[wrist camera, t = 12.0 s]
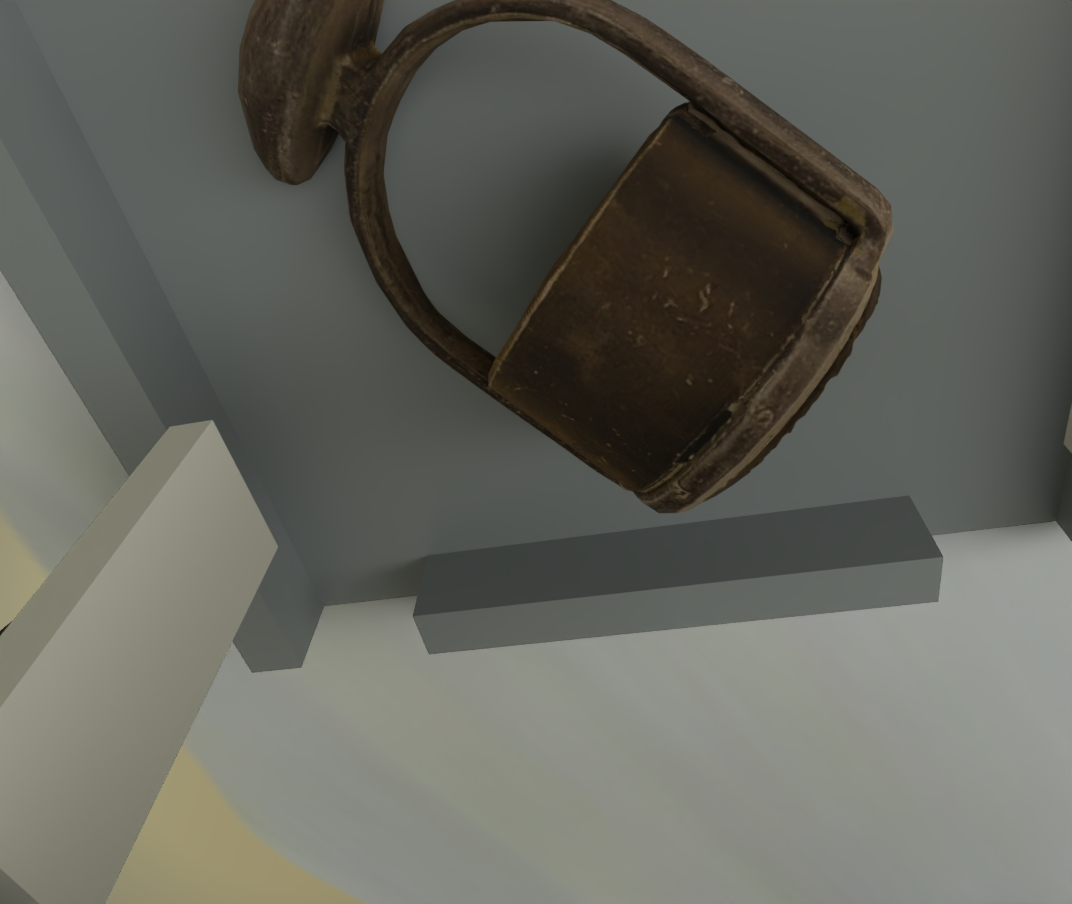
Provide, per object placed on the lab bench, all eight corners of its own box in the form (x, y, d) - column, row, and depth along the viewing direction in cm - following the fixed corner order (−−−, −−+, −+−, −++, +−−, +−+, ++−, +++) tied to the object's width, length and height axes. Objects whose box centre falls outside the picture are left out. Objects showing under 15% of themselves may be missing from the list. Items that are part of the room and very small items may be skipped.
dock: (1110, 504, 22) (1174, 577, 20) (282, 602, 26) (252, 672, 24) (1405, -619, 11) (1638, -769, 8) (-129, -144, 15) (-264, -153, 12)
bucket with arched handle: (546, 641, 18) (1027, 507, 12) (0, 236, 12) (481, -420, 6) (583, 421, 23) (942, 252, 17) (212, 49, 16) (588, -410, 11)
